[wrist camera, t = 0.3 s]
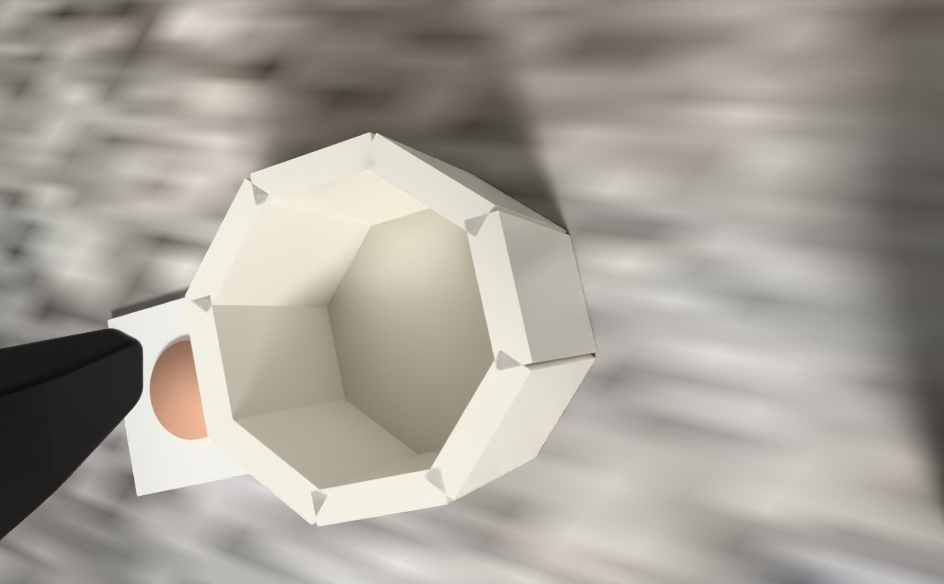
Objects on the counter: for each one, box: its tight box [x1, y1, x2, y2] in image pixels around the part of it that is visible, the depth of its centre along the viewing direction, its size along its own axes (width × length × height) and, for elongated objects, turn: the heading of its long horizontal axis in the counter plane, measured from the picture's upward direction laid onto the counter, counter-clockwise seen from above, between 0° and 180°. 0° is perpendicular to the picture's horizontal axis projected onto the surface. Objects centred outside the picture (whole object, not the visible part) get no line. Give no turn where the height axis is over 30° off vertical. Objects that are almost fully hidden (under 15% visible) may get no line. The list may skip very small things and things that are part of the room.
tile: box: [108, 297, 250, 496], centre depth 28 cm, size 6×6×1 cm
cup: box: [184, 132, 597, 526], centre depth 22 cm, size 8×8×6 cm
